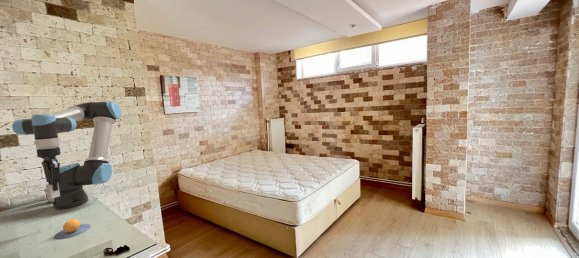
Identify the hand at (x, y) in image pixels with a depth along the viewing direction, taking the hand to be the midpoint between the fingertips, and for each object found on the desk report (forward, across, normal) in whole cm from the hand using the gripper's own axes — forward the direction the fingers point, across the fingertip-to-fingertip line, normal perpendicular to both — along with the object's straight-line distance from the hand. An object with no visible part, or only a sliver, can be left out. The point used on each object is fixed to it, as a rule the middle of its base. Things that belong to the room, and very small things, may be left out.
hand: (55, 197), depth 108 cm
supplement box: (+14, -44, +13) cm, 48 cm away
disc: (+14, +14, 0) cm, 20 cm away
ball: (+11, +14, 0) cm, 18 cm away
